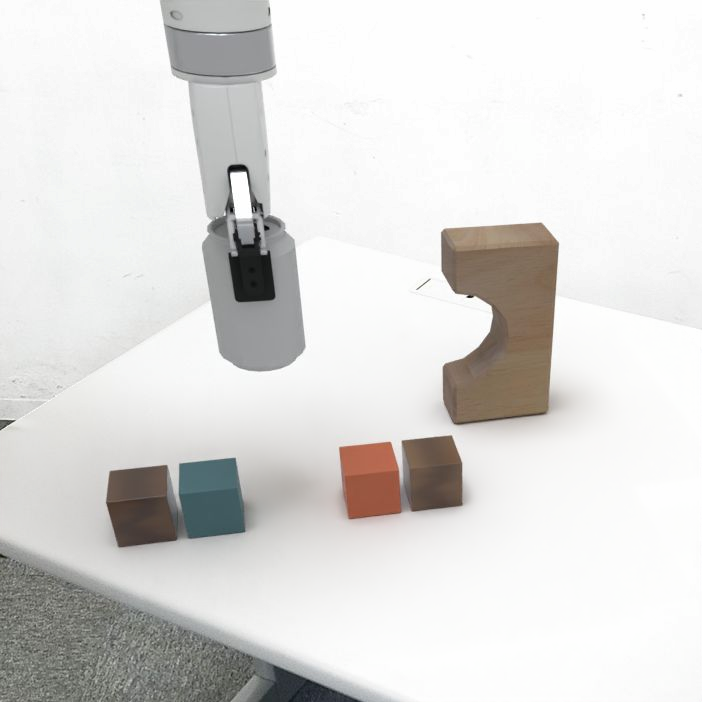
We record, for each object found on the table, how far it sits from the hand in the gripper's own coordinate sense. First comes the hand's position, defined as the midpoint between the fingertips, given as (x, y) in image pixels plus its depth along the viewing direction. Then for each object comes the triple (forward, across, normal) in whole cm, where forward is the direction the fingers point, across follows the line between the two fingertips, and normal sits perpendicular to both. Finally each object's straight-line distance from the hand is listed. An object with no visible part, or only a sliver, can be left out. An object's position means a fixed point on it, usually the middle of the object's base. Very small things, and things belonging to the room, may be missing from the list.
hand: (252, 278), depth 81 cm
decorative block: (+22, -11, +24) cm, 34 cm away
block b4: (+21, +4, +14) cm, 26 cm away
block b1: (+22, +4, -12) cm, 25 cm away
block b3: (+22, +4, +8) cm, 23 cm away
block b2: (+22, +4, -6) cm, 23 cm away
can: (+7, 0, 0) cm, 7 cm away
